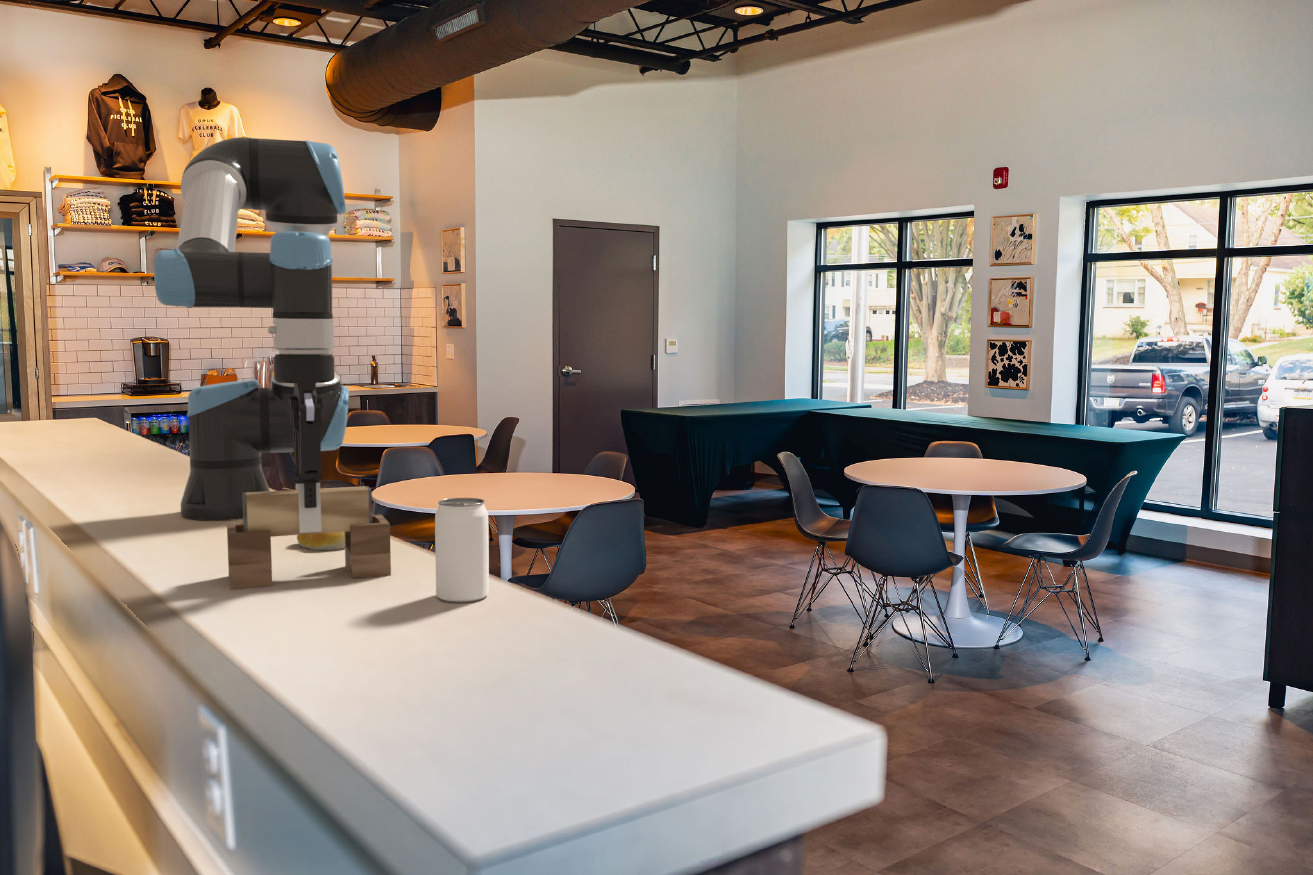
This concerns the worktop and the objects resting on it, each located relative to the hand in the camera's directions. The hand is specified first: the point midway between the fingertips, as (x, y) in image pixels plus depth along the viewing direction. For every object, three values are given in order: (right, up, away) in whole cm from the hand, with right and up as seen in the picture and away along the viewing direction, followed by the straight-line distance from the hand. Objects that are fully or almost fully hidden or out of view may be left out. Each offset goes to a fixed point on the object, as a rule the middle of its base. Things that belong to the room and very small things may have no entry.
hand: (308, 528), depth 136 cm
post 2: (+7, -6, +4) cm, 10 cm away
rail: (0, 0, 0) cm, 0 cm away
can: (+22, -8, -9) cm, 25 cm away
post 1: (-7, -7, -2) cm, 10 cm away
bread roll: (-4, -5, +20) cm, 21 cm away
